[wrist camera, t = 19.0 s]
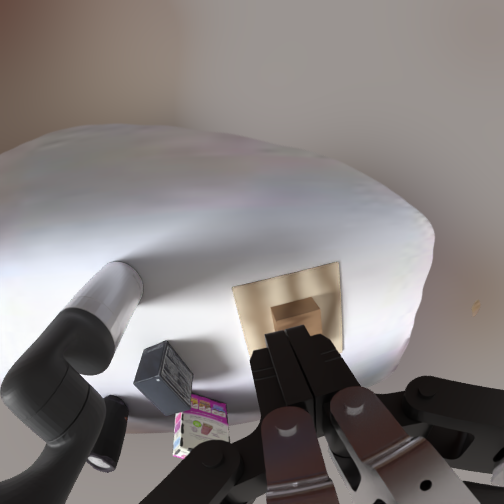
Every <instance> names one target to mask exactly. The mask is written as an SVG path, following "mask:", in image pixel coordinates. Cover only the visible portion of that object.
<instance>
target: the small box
mask: <svg viewBox="0 0 504 504" xmlns="http://www.w3.org/2000/svg"><path fill="white" fill-rule="evenodd" d="M192 379H193V373H192V372H191V371H190V370H189V368H188V367H187V366H186V365H185V363H184V362H183V361H182V360H181V358H180V357H179V356H178V355H177V353H176V352H175V351H174V349H173V348H172V347H171V345H170V344H169V343H168V341H164V342H162V343H160V344H157V345H154V346H152V347H149V348H147V349H144V351H143V354H142V357H141V360H140V363H139V367H138V370H137V373H136V376H135V380H134V382H133V384H134V385H135V386H136V387H137V388H138V389H139V390H140V391H141V392H142V393H143V394H144V395H145V396H146V397H147V398H148V399H149V400H150V401H151V402H152V403H153V404H154V405H155V406H156V407H157V408H158V409H159V410H160V411H161V412H162V413H163V414H164V415H165V416H168V415H173V414H176V413H180V412H184V411H188V410H191V392H192Z"/></svg>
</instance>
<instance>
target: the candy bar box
mask: <svg viewBox="0 0 504 504" xmlns="http://www.w3.org/2000/svg"><path fill="white" fill-rule="evenodd" d="M208 440H224V441H227V442H229V443H230V437H229V427H228V417H227V406H226V404H225V403H221V402H218V401H215V400H212V399H209V398H205V397H202V396H200V395H196V394H194V393H191V410H188V411H184V412H180V413H176V414H175V426H174V441H173V456H175V457H179V458H182V459H184V458H185V457H186V456H187V455H188V454H189V453H190V452H191V450H192V449H193V448H194V447H196V446H197V445H198V444H200V443H202V442H205V441H208Z"/></svg>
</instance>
